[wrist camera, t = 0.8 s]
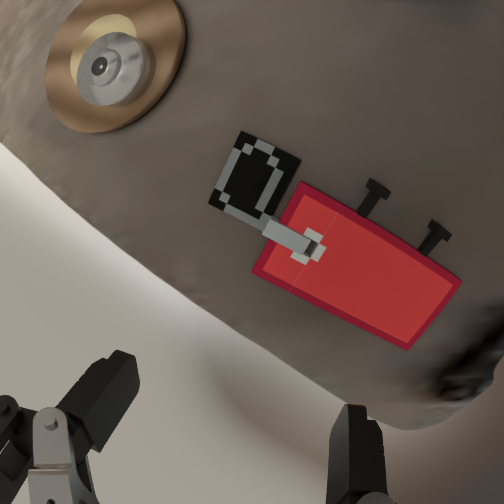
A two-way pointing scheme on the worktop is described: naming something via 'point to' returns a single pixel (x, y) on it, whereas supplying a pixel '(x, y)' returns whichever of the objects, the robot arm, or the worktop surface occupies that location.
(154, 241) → the worktop surface
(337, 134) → the worktop surface
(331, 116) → the worktop surface
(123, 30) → the turntable
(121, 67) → the cover
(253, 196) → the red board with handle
